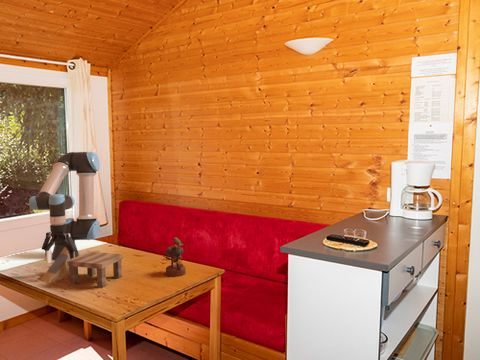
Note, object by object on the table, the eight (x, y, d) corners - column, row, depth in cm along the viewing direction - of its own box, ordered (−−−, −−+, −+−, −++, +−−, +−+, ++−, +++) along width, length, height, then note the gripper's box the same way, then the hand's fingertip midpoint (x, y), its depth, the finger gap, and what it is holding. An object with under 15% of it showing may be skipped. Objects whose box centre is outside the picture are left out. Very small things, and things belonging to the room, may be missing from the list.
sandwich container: (39, 279, 216) (38, 251, 215) (67, 272, 229) (65, 245, 227) (48, 283, 211) (47, 254, 210) (76, 275, 224) (74, 247, 222)
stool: (68, 284, 208) (67, 261, 207) (90, 273, 226) (89, 251, 224) (102, 288, 203) (101, 264, 202) (123, 276, 220) (122, 254, 219)
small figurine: (192, 273, 225) (189, 237, 221) (178, 280, 216) (174, 243, 213) (172, 268, 234) (169, 233, 230) (157, 274, 225) (154, 239, 222)
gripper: (33, 224, 218) (35, 263, 220) (73, 226, 211) (75, 267, 212) (43, 221, 225) (45, 260, 227) (82, 223, 218) (84, 263, 220)
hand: (59, 263), depth 220 cm, fingers open, 13 cm apart
